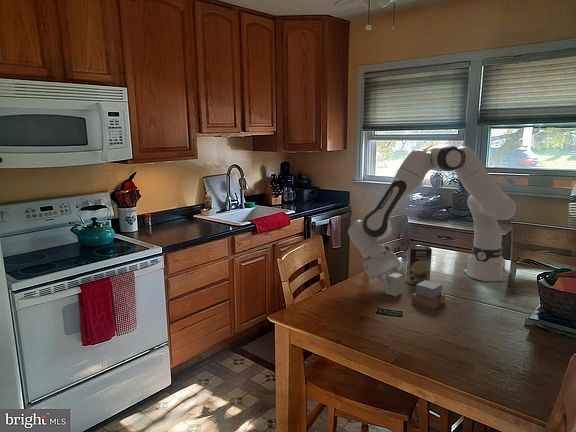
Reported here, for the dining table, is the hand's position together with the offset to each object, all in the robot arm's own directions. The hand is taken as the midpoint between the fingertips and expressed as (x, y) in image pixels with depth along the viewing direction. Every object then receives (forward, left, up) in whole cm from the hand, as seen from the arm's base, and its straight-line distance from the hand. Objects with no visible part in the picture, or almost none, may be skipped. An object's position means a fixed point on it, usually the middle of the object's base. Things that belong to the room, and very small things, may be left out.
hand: (393, 281), depth 169 cm
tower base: (0, +15, -5) cm, 16 cm away
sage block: (0, 0, -5) cm, 5 cm away
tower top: (0, +15, -1) cm, 15 cm away
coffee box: (-19, +1, -5) cm, 20 cm away
